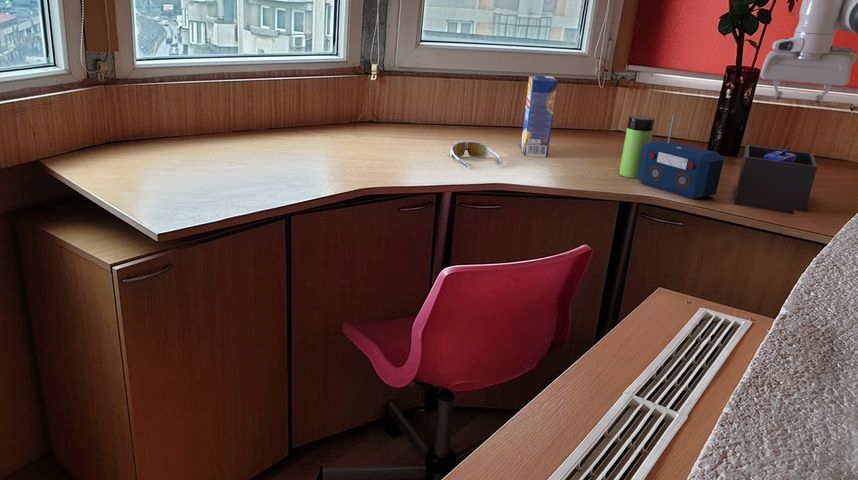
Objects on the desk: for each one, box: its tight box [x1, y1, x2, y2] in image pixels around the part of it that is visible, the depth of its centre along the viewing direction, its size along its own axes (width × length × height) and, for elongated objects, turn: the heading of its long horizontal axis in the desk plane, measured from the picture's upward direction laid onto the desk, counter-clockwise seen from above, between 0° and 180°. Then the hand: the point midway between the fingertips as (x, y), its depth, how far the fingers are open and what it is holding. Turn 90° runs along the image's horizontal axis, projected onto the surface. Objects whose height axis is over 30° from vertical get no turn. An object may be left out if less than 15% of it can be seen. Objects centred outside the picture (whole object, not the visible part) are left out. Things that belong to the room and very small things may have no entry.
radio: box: [636, 115, 725, 200], centre depth 198 cm, size 21×9×20 cm, turn 35°
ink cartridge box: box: [764, 146, 797, 163], centre depth 193 cm, size 10×6×14 cm, turn 134°
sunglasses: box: [449, 140, 501, 169], centre depth 220 cm, size 14×15×5 cm
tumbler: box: [618, 114, 656, 179], centre depth 212 cm, size 8×8×17 cm
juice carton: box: [520, 74, 559, 158], centre depth 232 cm, size 12×8×24 cm, turn 176°
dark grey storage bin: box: [733, 144, 818, 214], centre depth 193 cm, size 17×18×13 cm
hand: (797, 100), depth 186 cm, fingers open, 8 cm apart
